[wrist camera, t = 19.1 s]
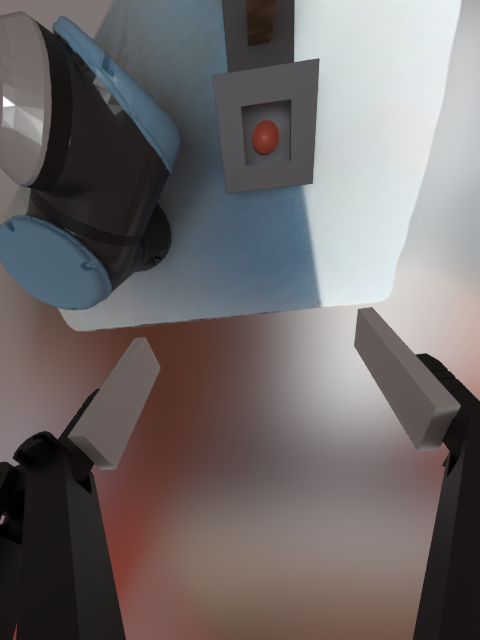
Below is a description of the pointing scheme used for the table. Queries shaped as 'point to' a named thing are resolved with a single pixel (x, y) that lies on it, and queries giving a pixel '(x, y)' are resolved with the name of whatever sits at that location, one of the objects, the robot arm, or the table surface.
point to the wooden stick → (259, 20)
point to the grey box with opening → (277, 106)
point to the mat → (261, 54)
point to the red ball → (265, 137)
